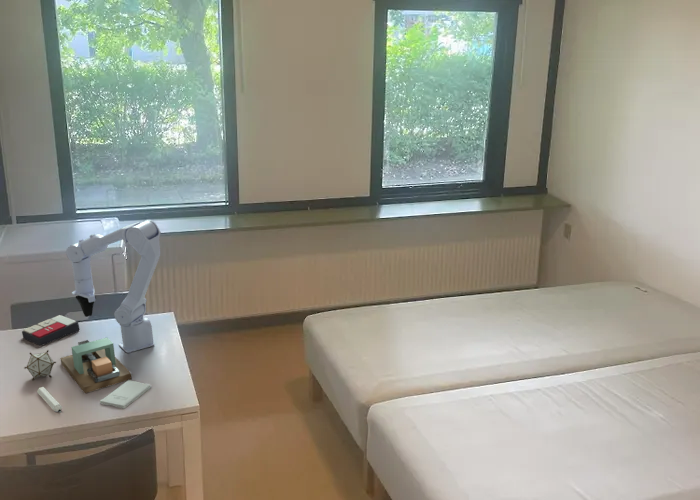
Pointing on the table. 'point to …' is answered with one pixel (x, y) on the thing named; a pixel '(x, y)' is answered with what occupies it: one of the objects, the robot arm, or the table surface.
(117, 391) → the external hard drive
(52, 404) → the marker
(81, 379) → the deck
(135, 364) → the table surface
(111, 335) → the table surface
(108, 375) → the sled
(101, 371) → the block
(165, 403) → the table surface
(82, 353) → the tunnel
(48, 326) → the sliding block puzzle
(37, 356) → the game die
